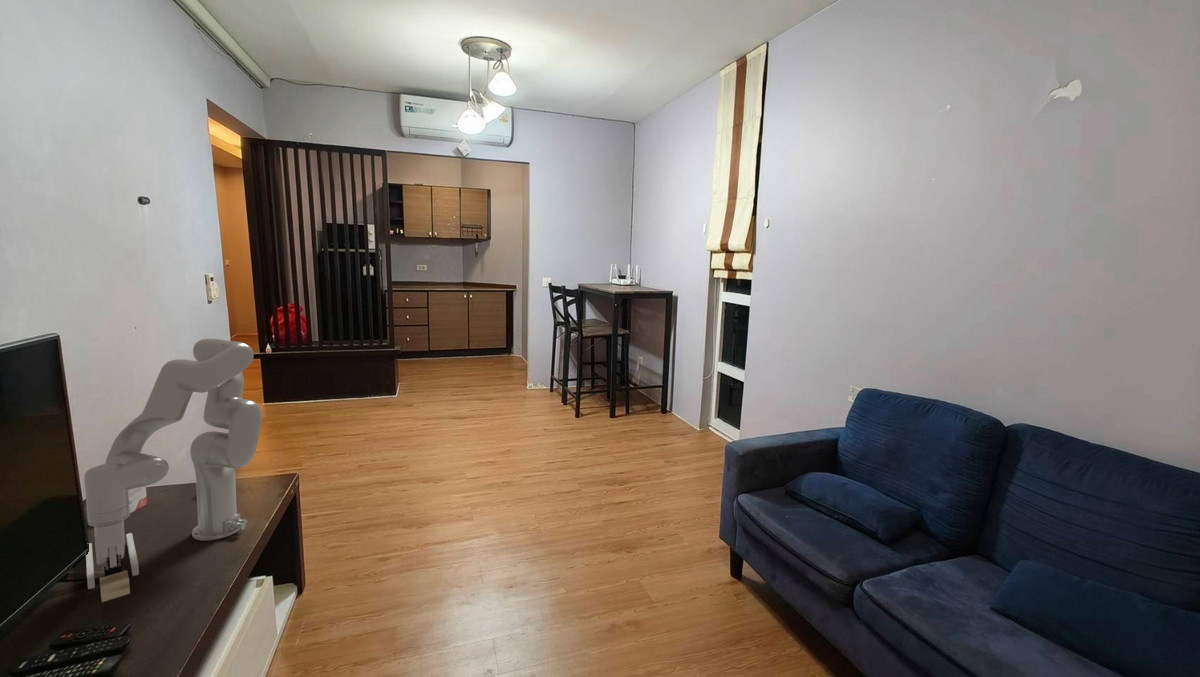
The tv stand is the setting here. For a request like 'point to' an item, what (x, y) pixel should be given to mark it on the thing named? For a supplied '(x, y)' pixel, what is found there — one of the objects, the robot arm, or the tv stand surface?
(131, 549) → the frosted channel
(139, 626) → the tv stand surface
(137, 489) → the ink cartridge box
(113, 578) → the maple block
